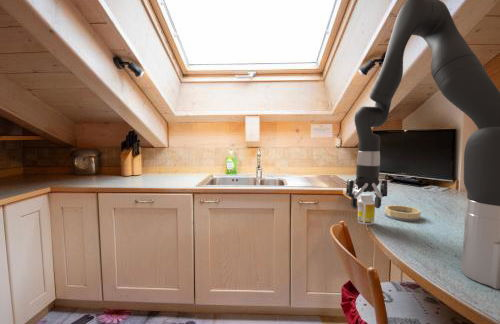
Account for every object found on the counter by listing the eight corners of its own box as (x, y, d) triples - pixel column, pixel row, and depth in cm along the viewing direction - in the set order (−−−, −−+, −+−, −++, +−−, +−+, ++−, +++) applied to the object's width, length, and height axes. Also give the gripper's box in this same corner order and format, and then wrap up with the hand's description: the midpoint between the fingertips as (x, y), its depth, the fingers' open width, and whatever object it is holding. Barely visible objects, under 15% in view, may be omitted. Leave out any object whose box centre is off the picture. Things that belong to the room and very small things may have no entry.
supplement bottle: (376, 222, 96) (377, 195, 95) (370, 226, 92) (372, 197, 91) (360, 219, 100) (361, 192, 99) (354, 222, 96) (356, 195, 95)
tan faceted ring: (427, 221, 98) (428, 213, 97) (397, 221, 97) (397, 214, 96) (406, 211, 109) (406, 204, 109) (378, 212, 109) (379, 205, 108)
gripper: (353, 165, 89) (351, 211, 91) (393, 164, 91) (390, 210, 92) (344, 162, 97) (342, 205, 99) (381, 162, 98) (378, 204, 100)
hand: (365, 207), depth 95 cm, fingers open, 8 cm apart
